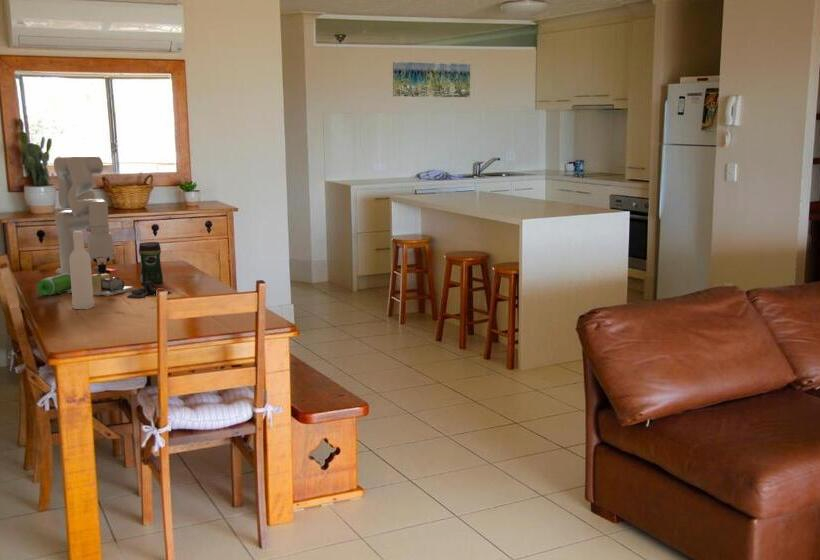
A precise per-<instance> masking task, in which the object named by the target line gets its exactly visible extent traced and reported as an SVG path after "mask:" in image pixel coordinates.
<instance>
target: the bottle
mask: <svg viewBox="0 0 820 560" xmlns="http://www.w3.org/2000/svg"><path fill="white" fill-rule="evenodd" d="M73 239H74V251H73V252H72V253H71V254H70V258H69V263H70V277H71V290H72V294H71V303H72V309H73V308H75V309H86V310H88V309H87V308H91V309H93V308H95V299H94V295H93V286H92V275H93V274H92V261H91V258H90V255H89V253H88V250H85V243H84V241H85V240H84V232H83V230H77V231H74V232H73ZM92 307H93V308H92ZM75 309H74V310H75Z"/></svg>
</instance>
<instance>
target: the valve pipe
mask: <svg viewBox="0 0 820 560" xmlns="http://www.w3.org/2000/svg"><path fill="white" fill-rule="evenodd" d="M110 275H111V274H108V273H105V274H103V273H102V274H97V273H94V274H92V286H93V294H94V295H93V296H99V295H106V296H105V297H111V296H110V295H112V296H114V294H115V295H119V294H122V293H126V292H129V290H130V291H133V290H134V286H129V285H128V286H127V285H125V281H124V280H123V279H120V277H117V276H113V277H110ZM132 289H133V290H132ZM125 291H126V292H125ZM65 292H66V294H71V293H72V290H71V289H69V290H66V291H65ZM118 293H119V294H118Z"/></svg>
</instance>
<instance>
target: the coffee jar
mask: <svg viewBox="0 0 820 560" xmlns="http://www.w3.org/2000/svg"><path fill="white" fill-rule="evenodd" d="M138 245H139V246H138V254H139V256H140V283H141V284H143V285H145V282H147V281H151V282H152V283H153V284H154V285H156V284H161V283H163V282H164V278H163V270H162V265H161V264H162V263H161V253H162V250H161V245H160V242H158V241H145V242H140V243H139V244H138Z"/></svg>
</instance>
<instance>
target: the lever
mask: <svg viewBox="0 0 820 560" xmlns="http://www.w3.org/2000/svg"><path fill="white" fill-rule="evenodd" d="M93 269H94V272H96V274H100V272H99V271H98V266H94V267H93ZM105 274H110V275H113V274H117V269H113V268H108V267H106V272H105Z"/></svg>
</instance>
